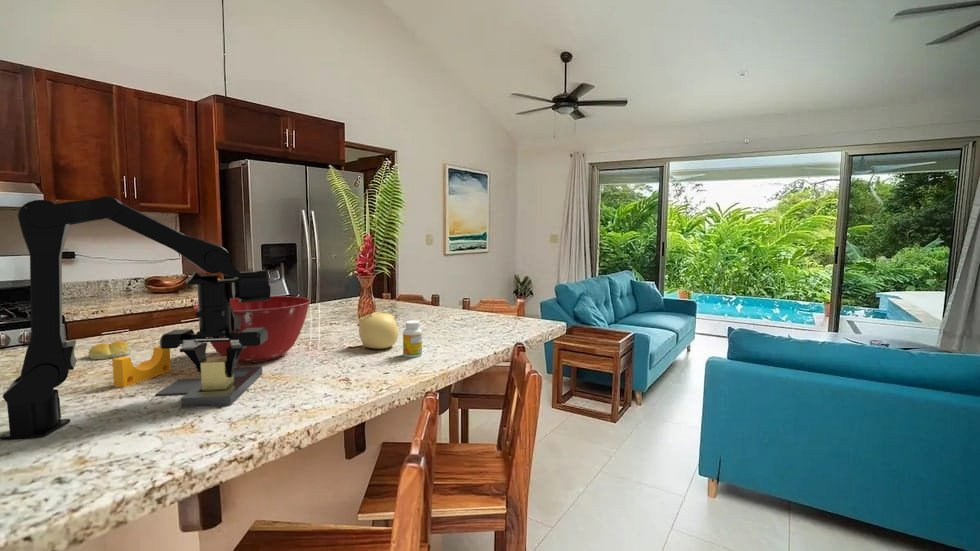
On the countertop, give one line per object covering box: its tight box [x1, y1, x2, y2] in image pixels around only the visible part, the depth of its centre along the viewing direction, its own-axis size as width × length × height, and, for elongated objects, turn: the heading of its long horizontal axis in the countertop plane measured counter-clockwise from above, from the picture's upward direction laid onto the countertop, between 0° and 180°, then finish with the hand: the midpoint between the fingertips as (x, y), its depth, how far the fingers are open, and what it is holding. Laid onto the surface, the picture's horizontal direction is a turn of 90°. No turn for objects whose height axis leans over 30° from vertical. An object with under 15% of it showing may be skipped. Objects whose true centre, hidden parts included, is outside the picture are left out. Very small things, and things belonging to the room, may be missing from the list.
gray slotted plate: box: [180, 365, 263, 409], centre depth 98 cm, size 20×9×2 cm, turn 11°
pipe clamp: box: [111, 345, 172, 388], centre depth 105 cm, size 12×4×6 cm, turn 170°
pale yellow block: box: [200, 356, 234, 392], centre depth 94 cm, size 4×4×7 cm
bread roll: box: [88, 340, 132, 360], centre depth 123 cm, size 8×9×4 cm
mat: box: [154, 377, 202, 397], centre depth 100 cm, size 10×10×1 cm
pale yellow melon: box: [358, 311, 399, 349], centre depth 136 cm, size 12×12×11 cm
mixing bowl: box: [193, 295, 311, 364], centre depth 124 cm, size 28×28×15 cm
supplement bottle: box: [402, 320, 423, 358], centre depth 127 cm, size 5×5×10 cm
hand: (218, 377), depth 94 cm, fingers closed on pale yellow block, 4 cm apart
